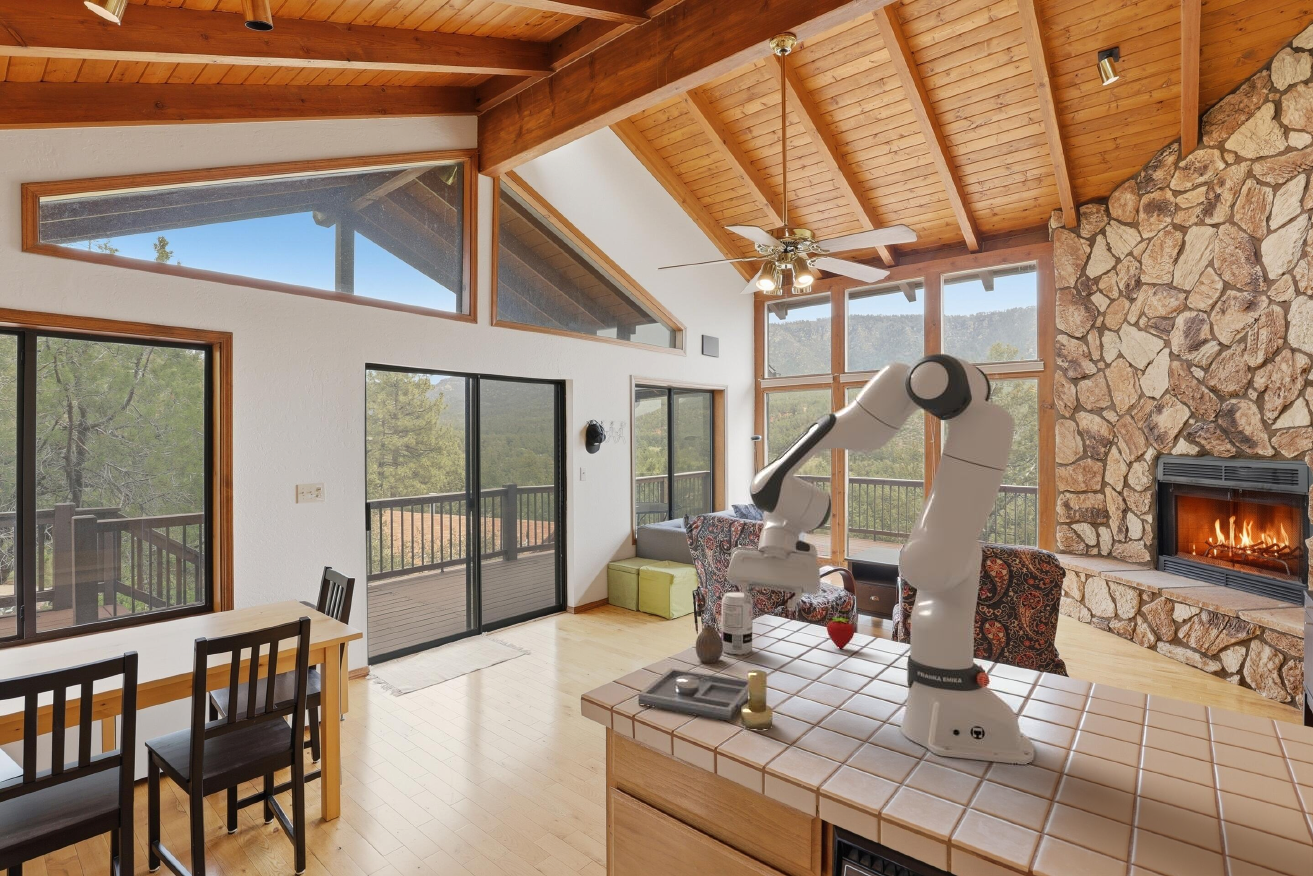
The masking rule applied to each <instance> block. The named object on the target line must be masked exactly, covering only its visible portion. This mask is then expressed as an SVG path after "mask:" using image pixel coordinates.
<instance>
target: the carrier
mask: <svg viewBox="0 0 1313 876" xmlns="http://www.w3.org/2000/svg"><path fill="white" fill-rule="evenodd" d="M637 702H638V703H637V704H644V705H649V706H654V707H657V708H656V709H659V708H661V710H665V709H668V710H667V711H670V710H672V711H671V712H676V711H678V712H677V713H681V712H683V713H682V714H687V715H692V714H696V715H695V716H697V715H700V716H699V717H703V716H705V717H704V718H708V717H709V719H714V720H719V719H722V720H721V721H724V720H727V721H726V722H730V721H733V719H735V717H736V715H737V714H738V713H739V712H740V710H741V708H742V706H743V705H745V704H747V702H748V679H747V680H746V679H741V678H734V677H727V676H723V675H715V674H708V673H702V672H697V671H690V670H684V669H677V668H669V669H668V670H667V671H665V672H664V673H663V674H662V675H661V676H659V677H658V678H657V679H656V680H654V681H653V682H652V683H650V684H649V685H648V686H647V687H645V688H644V689H643V690H641V691H640V692H639V693H638V701H637ZM649 706H648V707H649ZM654 707H653V708H654Z"/></svg>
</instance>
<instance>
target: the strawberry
mask: <svg viewBox="0 0 1313 876" xmlns="http://www.w3.org/2000/svg"><path fill="white" fill-rule="evenodd" d="M832 619H833V620H830V621H829V622H828V623H827V624H826V625H827V626H826V631H827V635H828V637H829V638H830V639H831V642H833V644H834V646H836V647H839V648H843V649H844V648H845V647H846V645H848V644H849V643H850V642H851V641H852V639H853V638H854V635H855V628H854V627H855V626H854V625H853V624H851V623H849V622H850V620H849V619H847V618H843V617H840V612H838V617H832Z"/></svg>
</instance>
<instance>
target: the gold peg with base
mask: <svg viewBox="0 0 1313 876" xmlns="http://www.w3.org/2000/svg"><path fill="white" fill-rule="evenodd" d="M767 675H768V674H767V672H766V671H764V670H761V669H752V670H749V671H747V680H748V700H747V703H745V704H744V705H743V706H742V708H741V709H740V710H741V713H740V715H741V716H740V719H741V721H740V723H741V724H742V725H743V726H745V727H746V728H749V729H757V730H763V729H769V730H771V729H772V728H773V708H772V707H771V706H769V705H767V687H768V685H767V684H768V683H767V682H768V681H767V679H768V678H767ZM742 725H741V726H742ZM743 726H742V727H743ZM771 727H772V728H771ZM746 728H745V729H746ZM770 728H771V729H770ZM749 729H748V730H749Z"/></svg>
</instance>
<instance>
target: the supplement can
mask: <svg viewBox="0 0 1313 876" xmlns="http://www.w3.org/2000/svg"><path fill="white" fill-rule="evenodd" d="M747 594H749V593H748V592H747ZM743 599H744V593H743V591H728V592H724V593H723V596H722V599H721V620H720V621H721V627H720V628H721V629H720V631H721V632H720V637H721V639H722V643H723V652H724V653H726V654H728V653H729V655H733V654H738V655H737V656H743V655H742V654H745V655H748V654H750V653H751V651H752V650H753V623H754V620H753V618H754V617H753V612H754V611H753V609H754V605H753V604H754V603H753V602H754V601H753V599H752V601H751V605H747V604H744V602H743ZM749 652H750V653H749ZM747 653H748V654H747Z"/></svg>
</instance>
